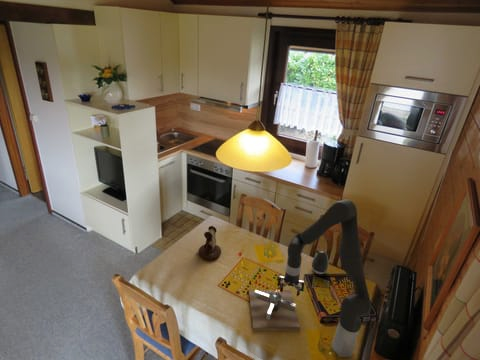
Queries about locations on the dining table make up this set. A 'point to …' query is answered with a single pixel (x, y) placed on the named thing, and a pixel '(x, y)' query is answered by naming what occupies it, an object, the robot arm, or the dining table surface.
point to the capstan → (274, 301)
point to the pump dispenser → (320, 262)
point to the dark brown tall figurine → (210, 245)
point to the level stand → (273, 313)
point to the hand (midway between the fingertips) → (289, 293)
